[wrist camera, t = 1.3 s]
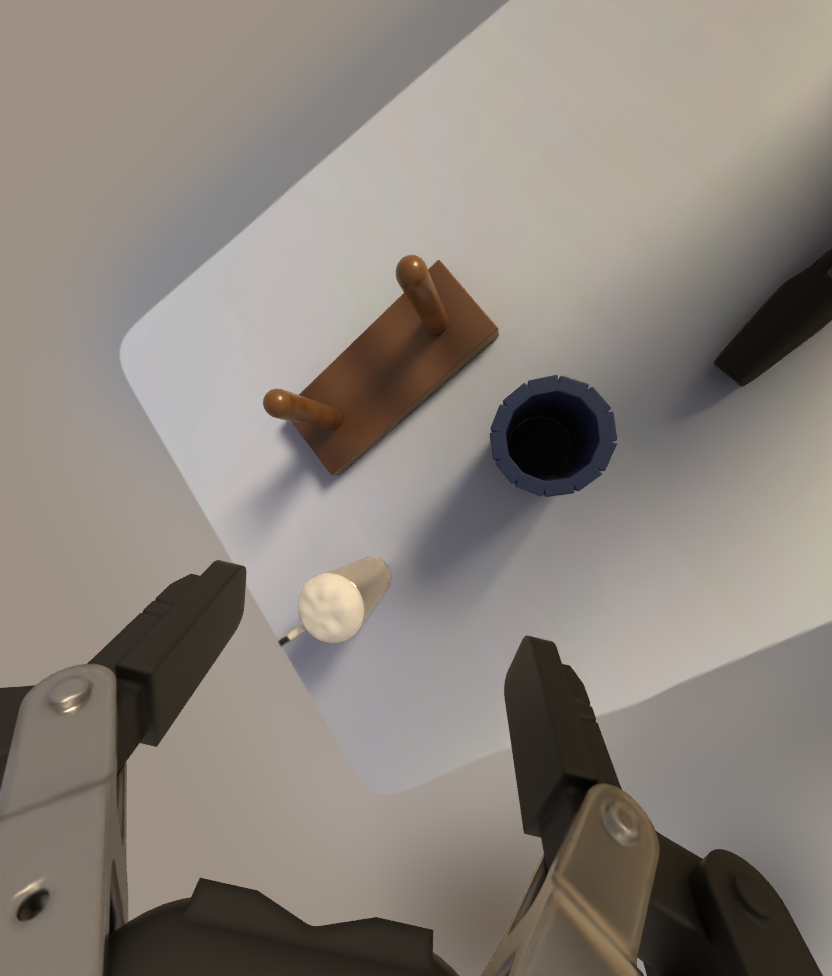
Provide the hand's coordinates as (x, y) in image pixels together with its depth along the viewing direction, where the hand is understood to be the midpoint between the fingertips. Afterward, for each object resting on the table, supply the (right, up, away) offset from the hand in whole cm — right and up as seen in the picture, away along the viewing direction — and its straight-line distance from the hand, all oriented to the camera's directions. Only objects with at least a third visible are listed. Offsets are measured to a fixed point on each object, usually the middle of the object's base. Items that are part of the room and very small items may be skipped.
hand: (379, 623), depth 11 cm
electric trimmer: (+27, +16, +14) cm, 34 cm away
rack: (-1, +13, +21) cm, 25 cm away
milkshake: (-3, -4, +22) cm, 23 cm away
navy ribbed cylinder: (+10, +7, +18) cm, 22 cm away
